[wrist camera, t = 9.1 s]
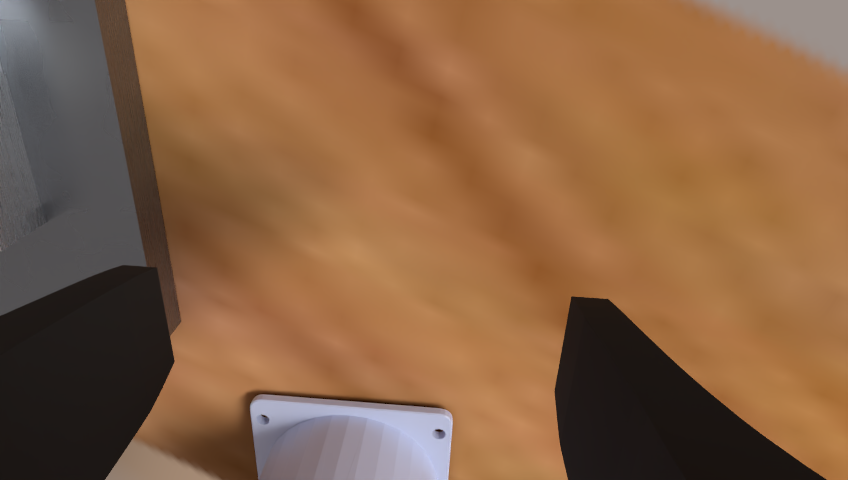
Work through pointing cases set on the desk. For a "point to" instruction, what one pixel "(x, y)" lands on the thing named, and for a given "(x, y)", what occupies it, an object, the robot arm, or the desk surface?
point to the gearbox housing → (74, 152)
